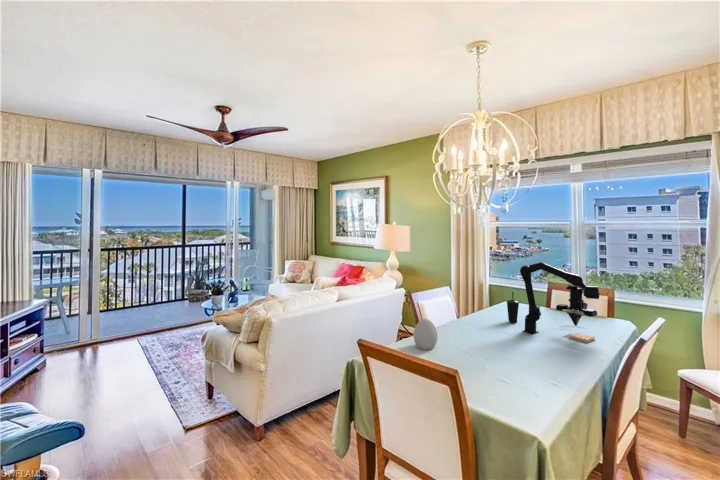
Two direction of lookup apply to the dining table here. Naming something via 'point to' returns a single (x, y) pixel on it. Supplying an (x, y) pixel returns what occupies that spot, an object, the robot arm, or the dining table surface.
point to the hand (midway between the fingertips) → (575, 325)
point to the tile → (581, 337)
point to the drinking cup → (512, 310)
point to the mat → (576, 340)
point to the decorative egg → (425, 335)
